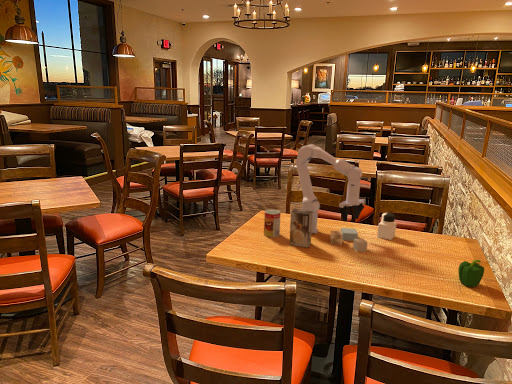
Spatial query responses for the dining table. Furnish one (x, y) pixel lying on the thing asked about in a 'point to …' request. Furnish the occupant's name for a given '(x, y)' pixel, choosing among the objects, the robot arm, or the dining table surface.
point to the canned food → (272, 223)
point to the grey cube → (360, 245)
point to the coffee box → (300, 227)
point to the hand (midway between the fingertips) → (350, 219)
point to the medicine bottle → (387, 226)
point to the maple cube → (336, 237)
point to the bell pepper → (470, 273)
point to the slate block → (349, 234)
